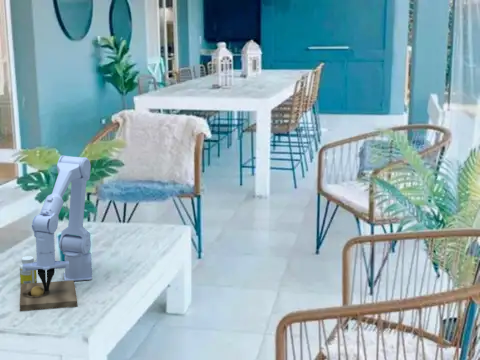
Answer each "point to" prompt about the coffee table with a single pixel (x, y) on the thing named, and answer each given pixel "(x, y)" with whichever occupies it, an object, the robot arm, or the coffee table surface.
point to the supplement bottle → (27, 275)
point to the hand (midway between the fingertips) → (46, 290)
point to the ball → (37, 291)
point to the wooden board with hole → (48, 296)
